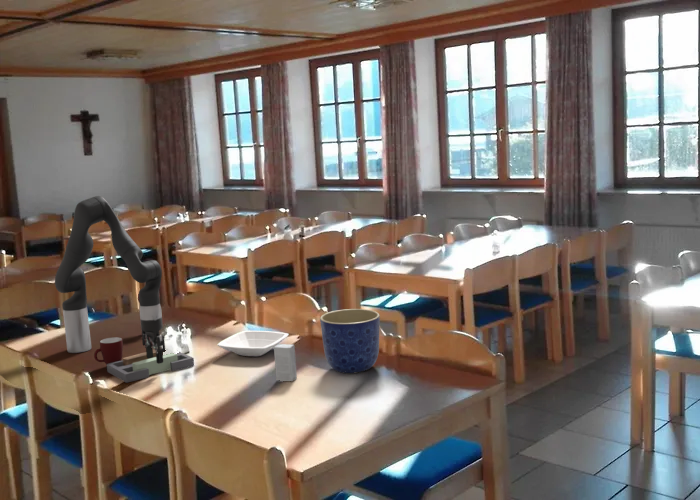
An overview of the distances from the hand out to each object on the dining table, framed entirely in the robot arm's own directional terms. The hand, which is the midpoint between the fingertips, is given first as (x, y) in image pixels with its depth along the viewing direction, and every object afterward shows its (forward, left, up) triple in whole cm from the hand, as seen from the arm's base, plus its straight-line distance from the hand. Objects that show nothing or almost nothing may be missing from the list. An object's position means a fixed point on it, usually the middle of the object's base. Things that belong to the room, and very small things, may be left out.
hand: (155, 360), depth 295 cm
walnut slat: (-9, 0, -4) cm, 10 cm away
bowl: (+7, +37, -4) cm, 38 cm away
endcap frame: (-4, 0, -4) cm, 6 cm away
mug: (-18, -10, -4) cm, 21 cm away
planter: (+50, +51, -4) cm, 72 cm away
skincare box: (+43, +28, -4) cm, 52 cm away
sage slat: (0, 0, -4) cm, 4 cm away
